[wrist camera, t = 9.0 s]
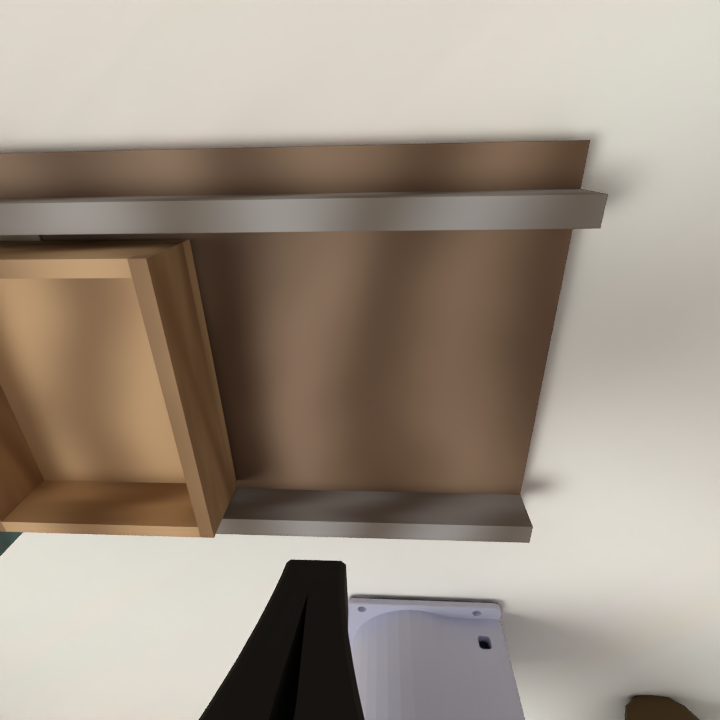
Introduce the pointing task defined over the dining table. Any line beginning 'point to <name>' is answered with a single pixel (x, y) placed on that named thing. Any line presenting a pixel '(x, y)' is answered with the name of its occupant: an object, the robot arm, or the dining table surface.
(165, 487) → the box
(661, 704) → the brown knobbed bar
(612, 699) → the dining table surface
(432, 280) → the bay
